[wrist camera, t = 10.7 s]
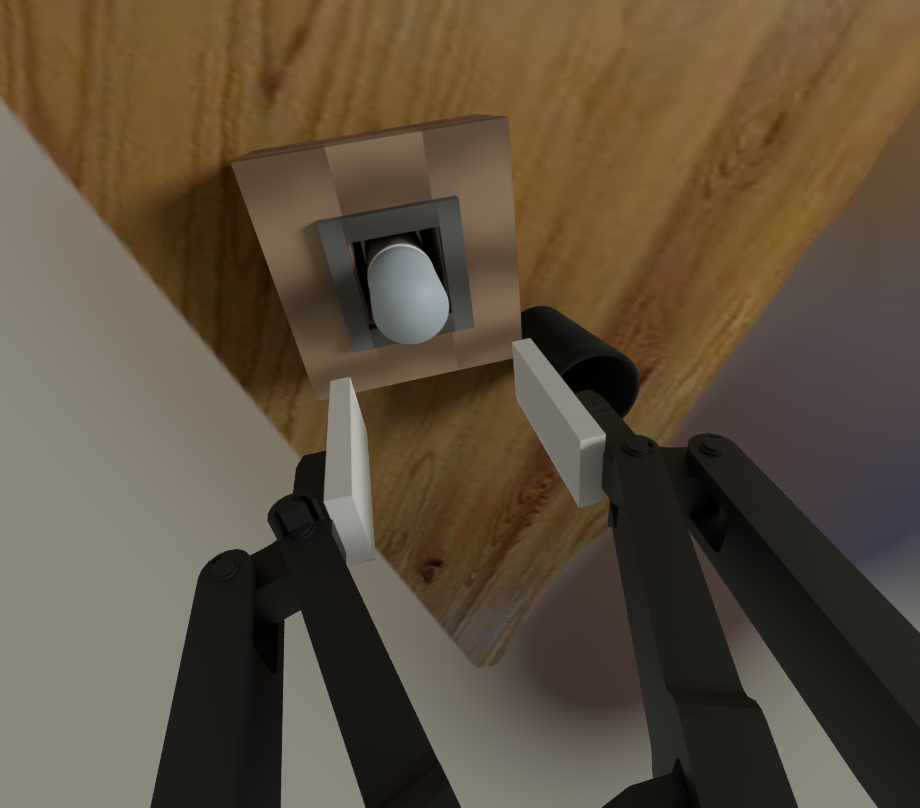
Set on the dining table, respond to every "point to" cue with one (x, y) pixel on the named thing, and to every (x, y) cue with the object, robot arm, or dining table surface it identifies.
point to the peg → (404, 289)
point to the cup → (582, 358)
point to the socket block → (383, 214)
